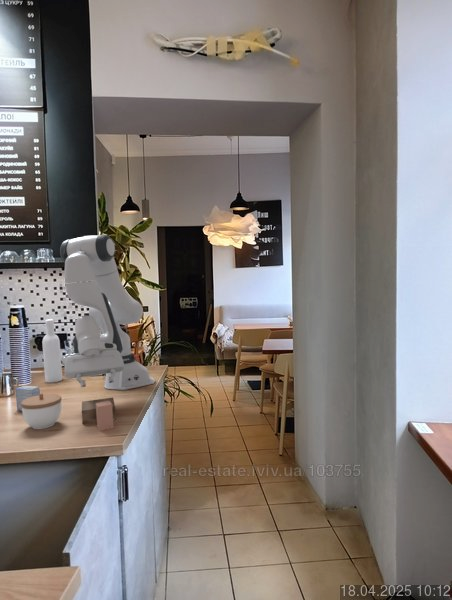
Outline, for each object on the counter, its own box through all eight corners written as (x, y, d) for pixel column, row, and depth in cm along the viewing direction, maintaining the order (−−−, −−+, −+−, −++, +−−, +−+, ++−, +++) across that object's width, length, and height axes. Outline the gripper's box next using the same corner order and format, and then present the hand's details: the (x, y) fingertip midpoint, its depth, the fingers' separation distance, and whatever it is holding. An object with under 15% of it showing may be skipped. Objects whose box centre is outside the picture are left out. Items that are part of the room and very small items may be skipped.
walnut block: (113, 410, 158) (113, 397, 157) (115, 420, 147) (115, 406, 147) (82, 414, 154) (81, 401, 154) (82, 425, 144) (81, 410, 143)
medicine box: (41, 408, 163) (40, 386, 163) (33, 412, 159) (31, 389, 158) (25, 407, 166) (24, 385, 165) (16, 410, 162) (14, 388, 161)
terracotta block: (110, 423, 143) (109, 400, 142) (113, 428, 139) (112, 404, 138) (97, 426, 141) (95, 403, 140) (99, 430, 137) (97, 406, 136)
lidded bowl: (22, 435, 136) (19, 401, 135) (23, 423, 148) (21, 392, 147) (64, 427, 141) (61, 395, 140) (62, 416, 152) (60, 386, 152)
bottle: (41, 381, 205) (37, 320, 203) (56, 377, 212) (51, 318, 210) (51, 383, 201) (46, 320, 199) (65, 379, 207) (61, 318, 205)
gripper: (61, 350, 147) (66, 383, 139) (120, 343, 156) (127, 374, 148) (61, 360, 152) (65, 393, 143) (118, 353, 161) (125, 384, 152)
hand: (97, 384), depth 146 cm, fingers open, 8 cm apart
